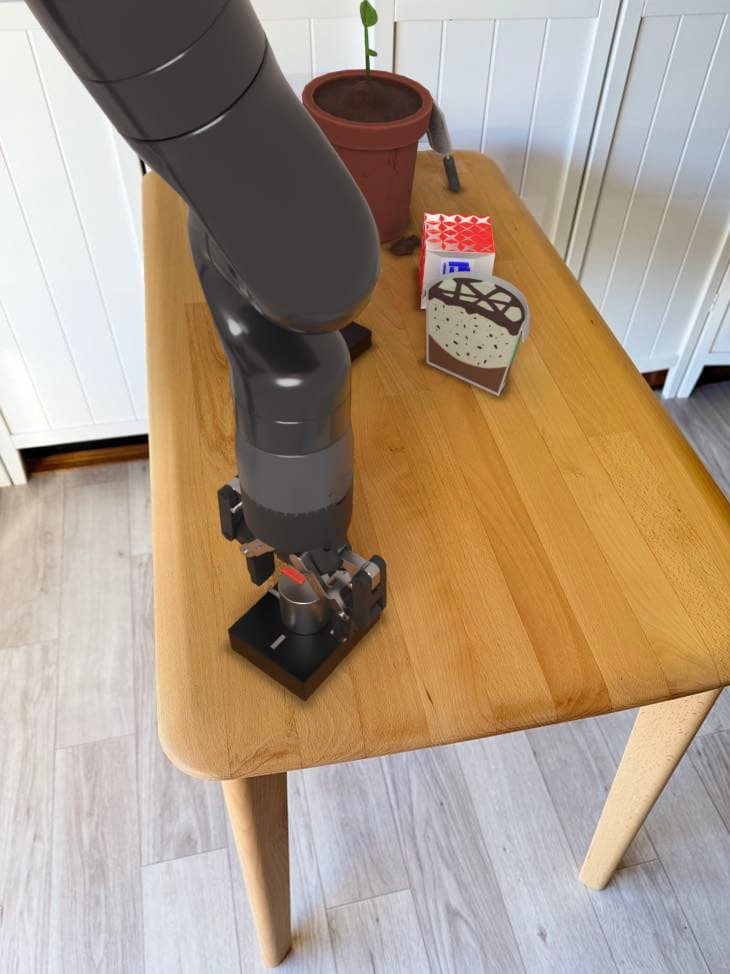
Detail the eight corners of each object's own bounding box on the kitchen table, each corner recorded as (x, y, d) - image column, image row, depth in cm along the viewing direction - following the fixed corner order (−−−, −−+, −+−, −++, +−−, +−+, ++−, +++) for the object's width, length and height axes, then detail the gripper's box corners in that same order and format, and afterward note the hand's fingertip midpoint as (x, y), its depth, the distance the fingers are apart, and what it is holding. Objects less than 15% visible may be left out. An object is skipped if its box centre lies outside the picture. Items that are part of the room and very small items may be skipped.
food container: (536, 372, 92) (554, 296, 84) (510, 401, 89) (527, 325, 81) (442, 331, 96) (452, 255, 88) (415, 357, 92) (422, 281, 84)
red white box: (481, 274, 103) (490, 216, 97) (485, 311, 99) (495, 253, 92) (418, 271, 103) (423, 212, 97) (420, 308, 98) (425, 249, 92)
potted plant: (307, 182, 115) (300, -23, 95) (459, 187, 117) (482, -14, 97) (304, 253, 104) (296, 37, 84) (472, 257, 106) (502, 47, 86)
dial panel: (306, 703, 65) (304, 684, 62) (230, 648, 68) (226, 627, 65) (381, 619, 70) (382, 599, 68) (308, 572, 73) (306, 550, 70)
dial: (340, 610, 67) (340, 576, 63) (308, 643, 65) (307, 610, 61) (303, 585, 68) (300, 551, 64) (271, 617, 66) (266, 583, 62)
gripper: (175, 448, 53) (206, 590, 66) (346, 556, 49) (344, 686, 61) (253, 389, 57) (268, 533, 70) (418, 484, 53) (402, 619, 65)
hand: (303, 604), depth 66 cm, fingers open, 8 cm apart
